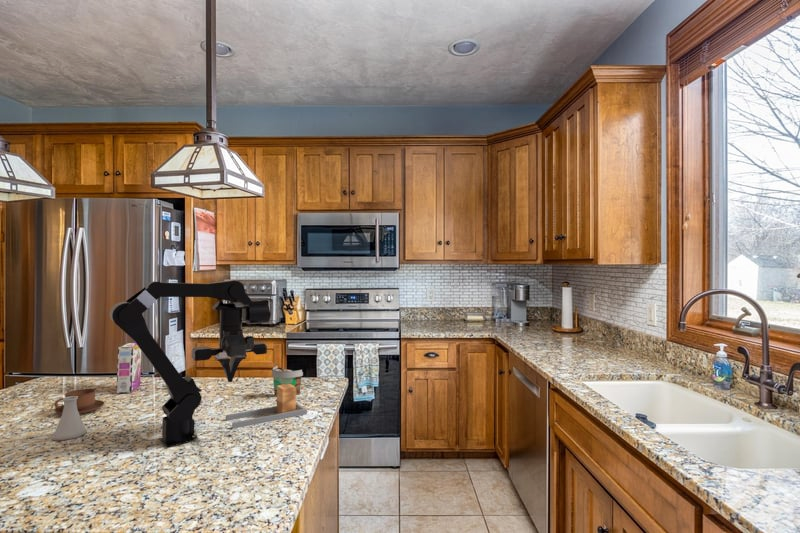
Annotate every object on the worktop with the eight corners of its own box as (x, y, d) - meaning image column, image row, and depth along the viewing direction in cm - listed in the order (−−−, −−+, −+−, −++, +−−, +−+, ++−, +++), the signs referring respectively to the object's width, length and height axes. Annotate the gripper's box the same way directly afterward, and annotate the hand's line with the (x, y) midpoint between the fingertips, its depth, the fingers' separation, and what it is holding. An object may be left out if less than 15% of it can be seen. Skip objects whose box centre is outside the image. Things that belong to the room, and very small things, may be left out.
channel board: (233, 434, 111) (233, 423, 111) (225, 424, 118) (225, 414, 119) (307, 419, 123) (307, 409, 123) (296, 411, 131) (296, 402, 131)
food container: (262, 398, 144) (263, 369, 144) (275, 393, 149) (276, 365, 149) (290, 403, 138) (290, 373, 138) (302, 398, 143) (303, 369, 144)
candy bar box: (132, 393, 148) (133, 347, 148) (115, 394, 146) (116, 347, 147) (141, 385, 158) (142, 342, 159) (126, 386, 157) (127, 342, 157)
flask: (45, 442, 105) (46, 402, 105) (60, 432, 112) (61, 394, 112) (79, 439, 107) (79, 400, 107) (91, 429, 114) (92, 392, 114)
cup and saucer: (72, 421, 120) (73, 399, 121) (45, 415, 124) (45, 395, 125) (113, 408, 132) (113, 388, 132) (86, 404, 136) (87, 385, 136)
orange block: (282, 417, 121) (282, 389, 121) (276, 412, 125) (276, 385, 125) (295, 414, 123) (295, 387, 123) (289, 409, 127) (289, 383, 127)
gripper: (199, 331, 103) (198, 394, 103) (273, 326, 114) (273, 383, 114) (191, 326, 113) (190, 384, 112) (261, 322, 123) (260, 375, 123)
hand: (229, 381), depth 115 cm, fingers closed
